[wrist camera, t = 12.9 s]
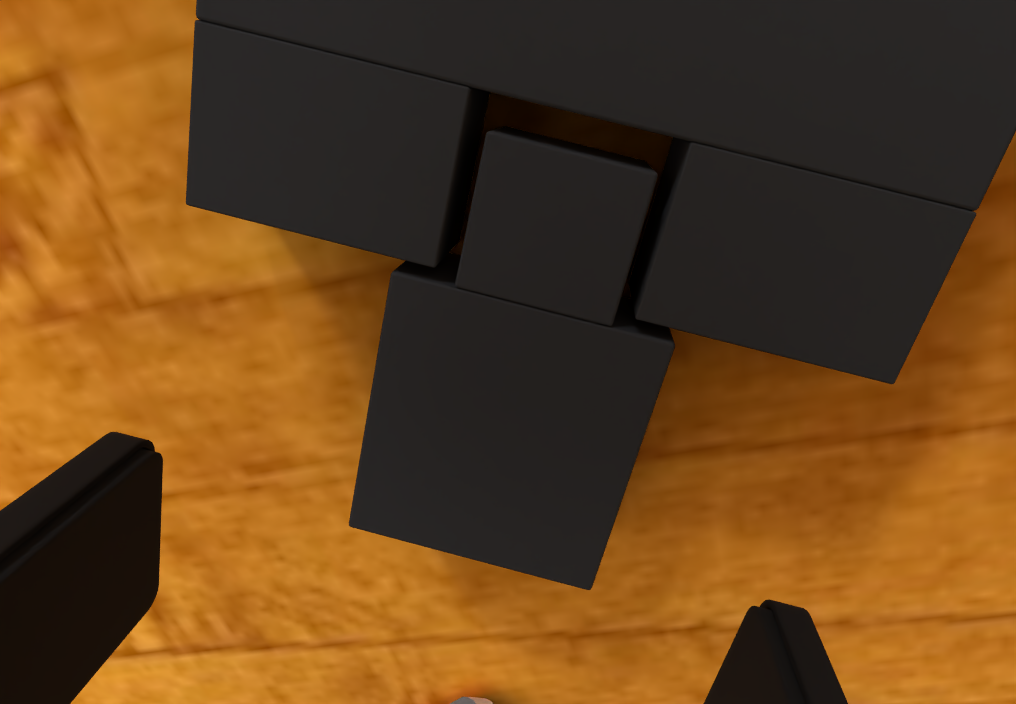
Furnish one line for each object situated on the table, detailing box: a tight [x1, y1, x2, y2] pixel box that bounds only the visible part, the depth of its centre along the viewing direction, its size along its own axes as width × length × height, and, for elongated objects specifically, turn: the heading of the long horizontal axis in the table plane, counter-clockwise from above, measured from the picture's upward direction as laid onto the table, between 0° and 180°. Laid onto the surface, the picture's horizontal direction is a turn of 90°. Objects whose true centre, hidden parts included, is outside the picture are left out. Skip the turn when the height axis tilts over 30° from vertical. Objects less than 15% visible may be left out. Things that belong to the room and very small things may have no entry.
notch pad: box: [186, 0, 1016, 384], centre depth 14 cm, size 16×12×3 cm
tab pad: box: [349, 126, 675, 590], centre depth 17 cm, size 6×10×3 cm, turn 167°
